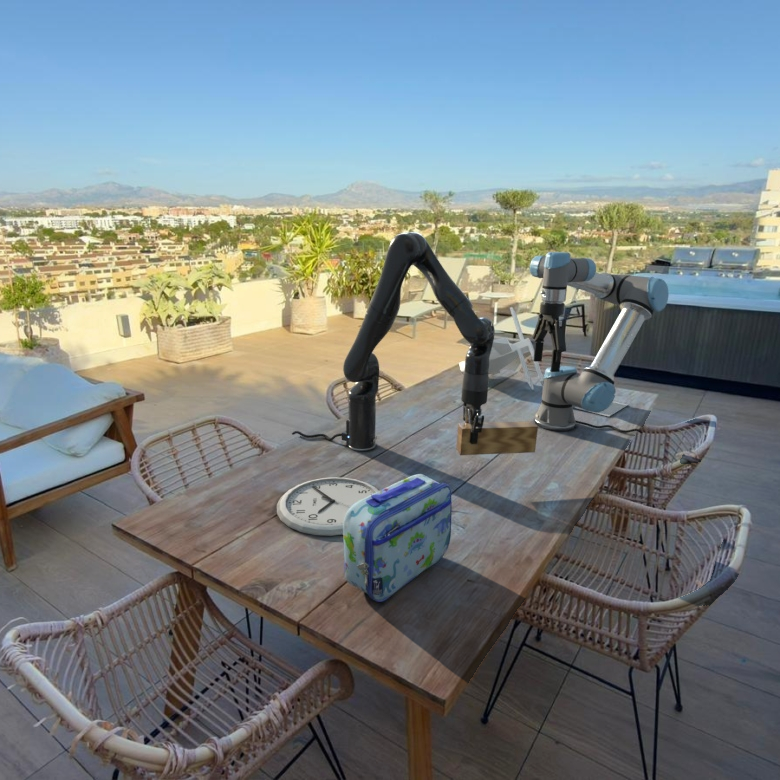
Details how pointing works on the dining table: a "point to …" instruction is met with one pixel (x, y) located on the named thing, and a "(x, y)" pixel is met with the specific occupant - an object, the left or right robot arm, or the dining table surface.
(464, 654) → the dining table surface
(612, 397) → the right robot arm
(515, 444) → the bar
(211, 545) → the dining table surface
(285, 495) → the wall clock
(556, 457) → the dining table surface
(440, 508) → the lunch box
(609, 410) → the invitation card
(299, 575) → the dining table surface
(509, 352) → the white plastic object
